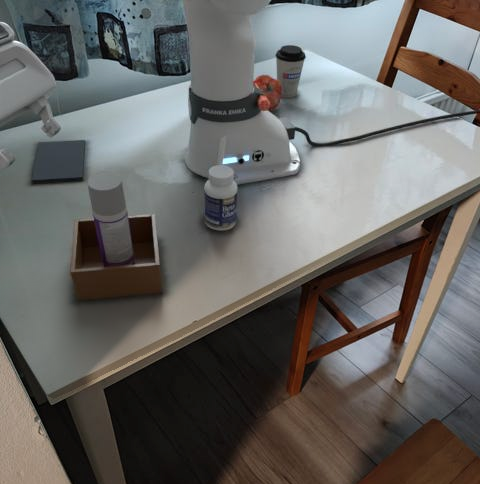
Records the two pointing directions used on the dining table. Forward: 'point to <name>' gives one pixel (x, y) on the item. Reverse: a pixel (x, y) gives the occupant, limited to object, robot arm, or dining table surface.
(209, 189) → the pill bottle
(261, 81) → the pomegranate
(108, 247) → the container
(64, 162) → the pad
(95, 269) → the wooden tray
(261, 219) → the dining table surface
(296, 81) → the coffee cup
